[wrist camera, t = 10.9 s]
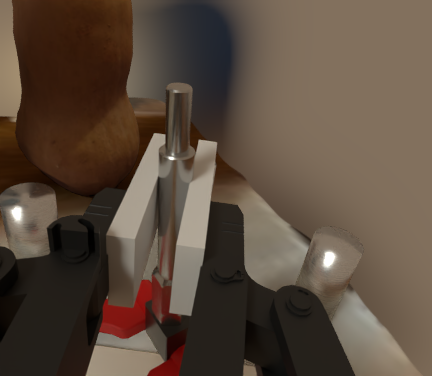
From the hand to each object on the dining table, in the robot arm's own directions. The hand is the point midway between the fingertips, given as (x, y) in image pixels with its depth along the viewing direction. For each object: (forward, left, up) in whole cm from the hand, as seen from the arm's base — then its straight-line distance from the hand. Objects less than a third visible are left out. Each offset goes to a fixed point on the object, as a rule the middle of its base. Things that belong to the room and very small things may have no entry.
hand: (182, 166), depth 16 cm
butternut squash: (-27, +10, -20) cm, 35 cm away
